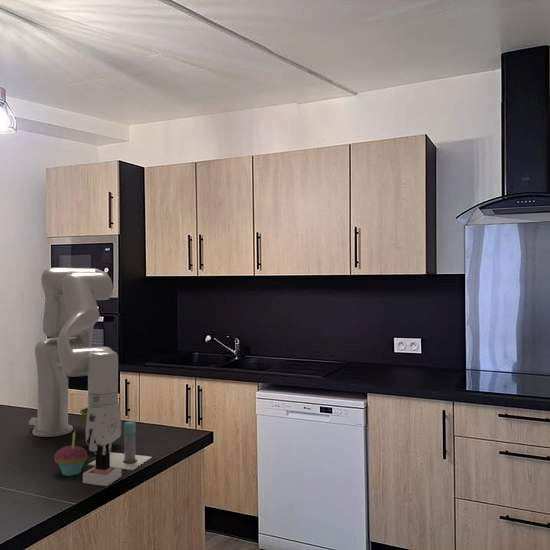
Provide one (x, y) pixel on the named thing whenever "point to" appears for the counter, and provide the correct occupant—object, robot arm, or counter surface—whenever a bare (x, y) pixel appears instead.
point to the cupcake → (71, 458)
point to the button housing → (102, 476)
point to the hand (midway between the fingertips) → (102, 468)
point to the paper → (118, 461)
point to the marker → (129, 441)
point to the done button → (102, 471)
